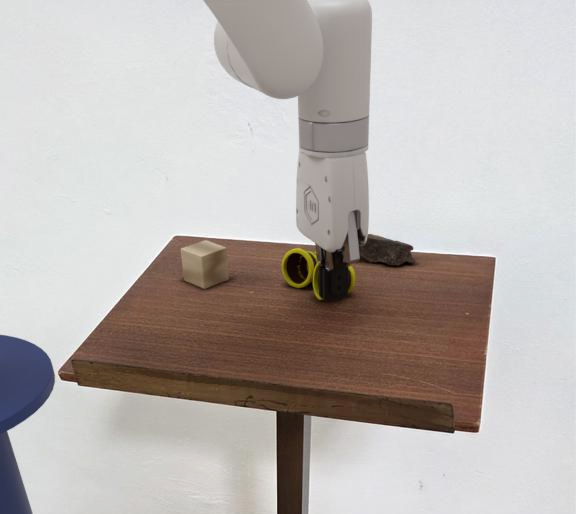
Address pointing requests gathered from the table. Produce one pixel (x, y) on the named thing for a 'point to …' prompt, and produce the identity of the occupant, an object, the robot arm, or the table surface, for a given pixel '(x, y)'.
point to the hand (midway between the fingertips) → (333, 297)
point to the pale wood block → (205, 264)
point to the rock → (385, 251)
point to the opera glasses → (307, 270)
